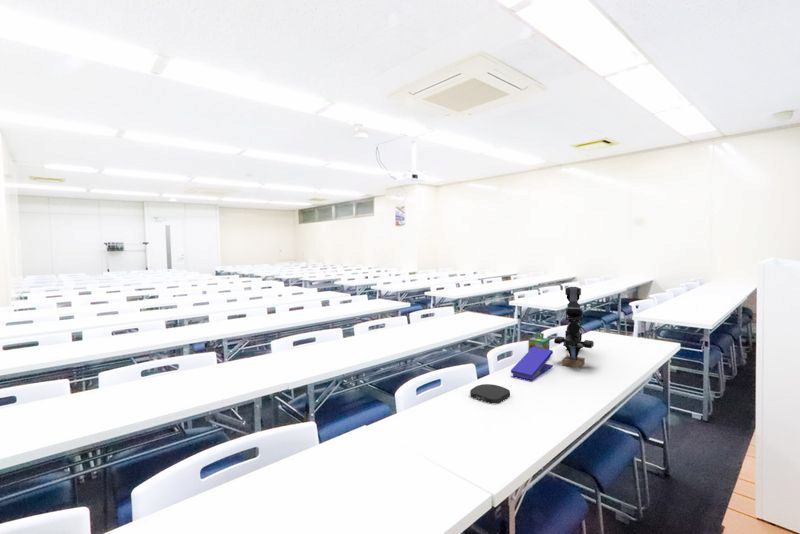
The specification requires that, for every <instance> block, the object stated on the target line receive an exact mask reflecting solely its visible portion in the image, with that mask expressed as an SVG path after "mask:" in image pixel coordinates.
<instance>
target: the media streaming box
mask: <svg viewBox="0 0 800 534" xmlns="http://www.w3.org/2000/svg"><path fill="white" fill-rule="evenodd" d="M469 395H471V396H470V397H471V398H472V397H474V398H473V399H475V398H477V399H476V400H478V399H479V400H478V401H481V400H482V401H481V402H484V401H486V402H485V403H487V402H489V403H488V404H492V403H497V404H500V403H502V402H504V401H506V400H507V399H509V398H510V397H511V391H510V390H509V389H508V388H507V387H505V386H500V385H497V384H492V383H490V384H488V383H485V384H479V385H476V386H474V387H473V388H471V389H470V391H469ZM508 397H509V398H508ZM505 399H506V400H505ZM503 400H504V401H503ZM501 401H502V402H501Z"/></svg>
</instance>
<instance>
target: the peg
mask: <svg viewBox="0 0 800 534" xmlns="http://www.w3.org/2000/svg"><path fill="white" fill-rule="evenodd" d="M571 359H573V360H576V347H575V346H571Z"/></svg>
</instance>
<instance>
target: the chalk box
mask: <svg viewBox="0 0 800 534" xmlns="http://www.w3.org/2000/svg"><path fill="white" fill-rule="evenodd" d="M539 336H540V337H539ZM544 336H545V335H544V333H541V332H535V335H534V336H533V337H531V338H529V339H528V347H527V349H528V352H529V351H530V350H531V349H532V348H533V347H536V348H541V349H547V350H550V345H551V344H550V340H551V339H550V338H547V337H544ZM528 352H527V353H528Z"/></svg>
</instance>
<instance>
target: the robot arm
mask: <svg viewBox="0 0 800 534" xmlns="http://www.w3.org/2000/svg"><path fill="white" fill-rule="evenodd" d="M564 290H565V296H566V300H567V301H568V303H567V307H566V308H565V320H566V321H567V326H566V330H565V335H564V336H556V337H555V338H554V340H553V341H554V344H556V345H557V344H558V345H561V344H562V343H563V344H562V345H563V347H565V348H566V349H565V351H567V350H568V351H567V352H568V355H569V356H570V357H571V346H575V347H576V358H577V357H579V353H580V352H581V350H582V349H583V348H585V349H593V347H594V344H595V342H594V341H593V340H588V339H584V341H582V336H583V335H582V332H581V326H580V324H581V323H580V321H582V320H583V319H584V311H583V309H582V308H581V304H579V302H578V301H580V296H582V289H581V288H579V287H577V286H567V287H565V289H564Z"/></svg>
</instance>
